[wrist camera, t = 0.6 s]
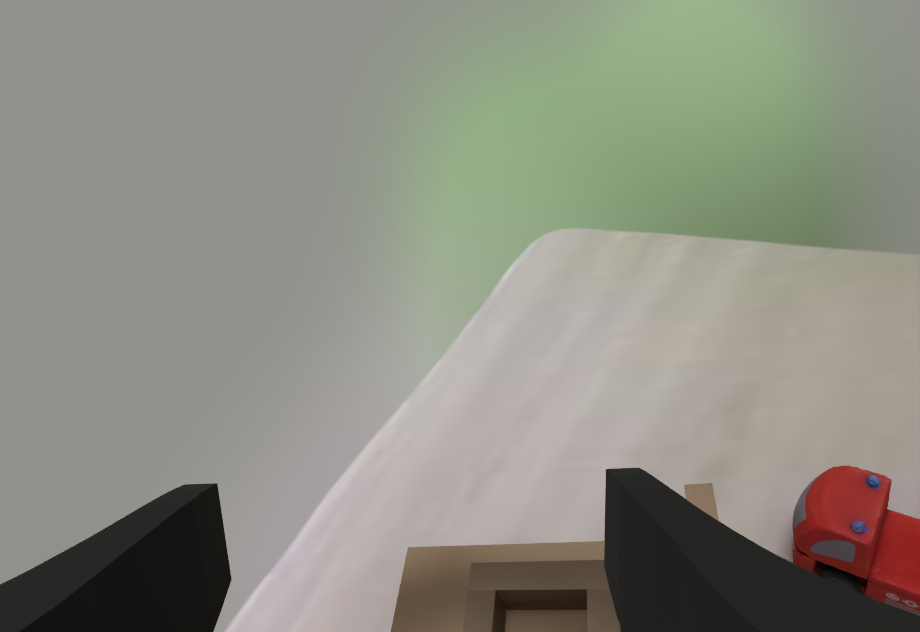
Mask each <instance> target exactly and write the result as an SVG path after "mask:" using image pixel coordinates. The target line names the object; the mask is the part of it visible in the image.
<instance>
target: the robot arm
mask: <svg viewBox="0 0 920 632" xmlns="http://www.w3.org/2000/svg"><path fill="white" fill-rule="evenodd" d="M604 568H605V572H606V576H607V580H608V584H609V588H610V592H611V596H612V600H613V604H614V608H615V611H616V615H617V618H618V621H619V623H620V626H621V629H622V631H623V632H920V616H919V615H916V614H913V613H910V612H907V611H905V610H902V609H899V608H896V607H893V606H890V605H888V604H885V603H883V602H880V601H878V600H875V599H873V598H870V597H868V596H865V595H863V594H860V593H858V592H855V591H853V590H850V589H848V588H845V587H843V586H840V585H838V584H836V583H833V582H831V581H829V580H827V579H824V578H822V577H820V576H818V575H816V574H814V573H812V572H809V571H807V570H805V569H803V568H801V567H799V566H797V565H795V564H793V563H791V562H789V561H787V560H785V559H783V558H781V557H779V556H777V555H775V554H773V553H772V552H770V551H768V550H766V549H764V548H762V547H761V546H759V545H757V544H756V543H754V542H752V541H750V540H749V539H747V538H745V537H744V536H742V535H740V534H739V533H737V532H735V531H733V530H732V529H730V528H729V527H727V526H726V525H724V524H722V523H721V522H719V521H718V520H716V519H715V518H713V517H711V516H710V515H708V514H707V513H705V512H704V511H702V510H701V509H699V508H698V507H696V506H695V505H694V504H692V503H691V502H689V501H688V500H686V499H685V498H683V497H682V496H680V495H679V494H678V493H676V492H675V491H673V490H672V489H670V488H669V487H668V486H666V485H665V484H663V483H662V482H660V481H659V480H658V479H656V478H655V477H653V476H652V475H650V474H649V473H647V472H646V471H644V470H642V469H640V468H622V469H606V500H605V547H604ZM230 582H231V575H230V567H229V560H228V554H227V547H226V541H225V533H224V527H223V520H222V513H221V506H220V500H219V493H218V486H217V484H190V485H183V486H181V487H178V488H176V489H174V490H172V491H170V492H168V493H166V494H164V495H162V496H160V497H159V498H157V499H155V500H153V501H151V502H150V503H148V504H146V505H144V506H143V507H141V508H139V509H137V510H136V511H134V512H132V513H131V514H129V515H127V516H125V517H124V518H122V519H120V520H119V521H117V522H115V523H114V524H112V525H110V526H108V527H107V528H105V529H103V530H102V531H100V532H98V533H97V534H95V535H93V536H91V537H89V538H88V539H86V540H84V541H82V542H80V543H79V544H77V545H75V546H74V547H71V548H69V549H68V550H66V551H64V552H62V553H60V554H58V555H56V556H55V557H53V558H51V559H49V560H47V561H45V562H44V563H42V564H40V565H38V566H36V567H35V568H33V569H31V570H29V571H27V572H25V573H23V574H21V575H19V576H17V577H15V578H13V579H11V580H9V581H7V582H5V583H2V584H1V585H0V632H213V631H214V628H215V625H216V623H217V620H218V617H219V614H220V612H221V609H222V606H223V603H224V600H225V597H226V594H227V591H228V588H229V585H230Z"/></svg>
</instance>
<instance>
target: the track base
mask: <svg viewBox="0 0 920 632" xmlns="http://www.w3.org/2000/svg"><path fill="white" fill-rule="evenodd" d="M684 486H685V493H686V500H688V501H689V502H691V503H692V504H694V505H695V506H696V507H698V508H699V509H701V510H702V511H704V512H705V513H707V514H708V515H710V516H711V517H713V518H715V519H716V520H718V521H719V519H718V514H717V508H716V503H715V497H714V492H713V486H712V483H708V484H690V485H684ZM604 547H605V541H601V542H568V543H536V544H504V545H472V546H440V547H408V550H407V555H406V560H405V565H404V570H403V575H402V580H401V584H400V589H399V594H398V599H397V604H396V609H395V614H394V619H393V624H392V628H391V632H623V631H622V629H621V626H620V623H619V621H618V618H617V615H616V611H615V608H614V604H613V600H612V596H611V592H610V588H609V584H608V580H607V576H606V572H605V568H604Z"/></svg>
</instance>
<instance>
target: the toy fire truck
mask: <svg viewBox="0 0 920 632" xmlns="http://www.w3.org/2000/svg"><path fill="white" fill-rule="evenodd" d="M890 487H891V479H889V478H887V477H886V476H884V475H880V474H877V473H873V472H870V471H867V470H862V469H859V468H857V467H851V466H839V467H832V468H831V469H829V470H827V471H825V472H824V473H822V474H821V475H819V476H818V477H816V478H815V479H814V480H813V481H812V482H811V483H810V484H809V485H808V486H807V488H806V489H805V490H804V492H803V493H802V494H801V496H800V498H799V500H798V502H797V505H796V507H795V510H794V515H793V533H794V537H793V562H794V564H795V565H797V566H799V567H801V568H803V569H805V570H807V571H809V572H812V573H814V574H816V575H818V576H820V577H822V578H824V579H827V580H829V581H831V582H833V583H836V584H838V585H840V586H843V587H845V588H848V589H850V590H853V591H855V592H858V593H860V594H863V595H865V596H868V597H870V598H873V599H875V600H878V601H880V602H883V603H885V604H888V605H890V606H893V607H896V608H899V609H902V610H905V611H907V612H910V613H913V614H916V615H919V616H920V519H917V518H913V517H910V516H907V515H904V514H901V513H897V512H894V511H891V510H887V507H888V501H889V493H890Z"/></svg>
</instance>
